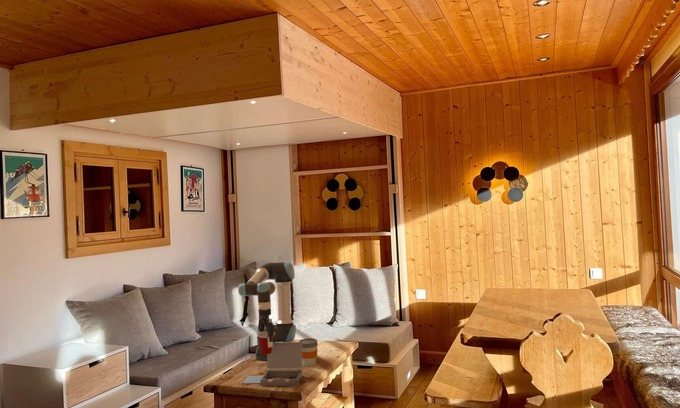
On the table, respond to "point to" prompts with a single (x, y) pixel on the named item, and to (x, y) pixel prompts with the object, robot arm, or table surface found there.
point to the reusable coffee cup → (309, 351)
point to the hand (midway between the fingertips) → (266, 344)
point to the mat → (252, 380)
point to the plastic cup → (264, 342)
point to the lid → (285, 356)
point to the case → (281, 381)
